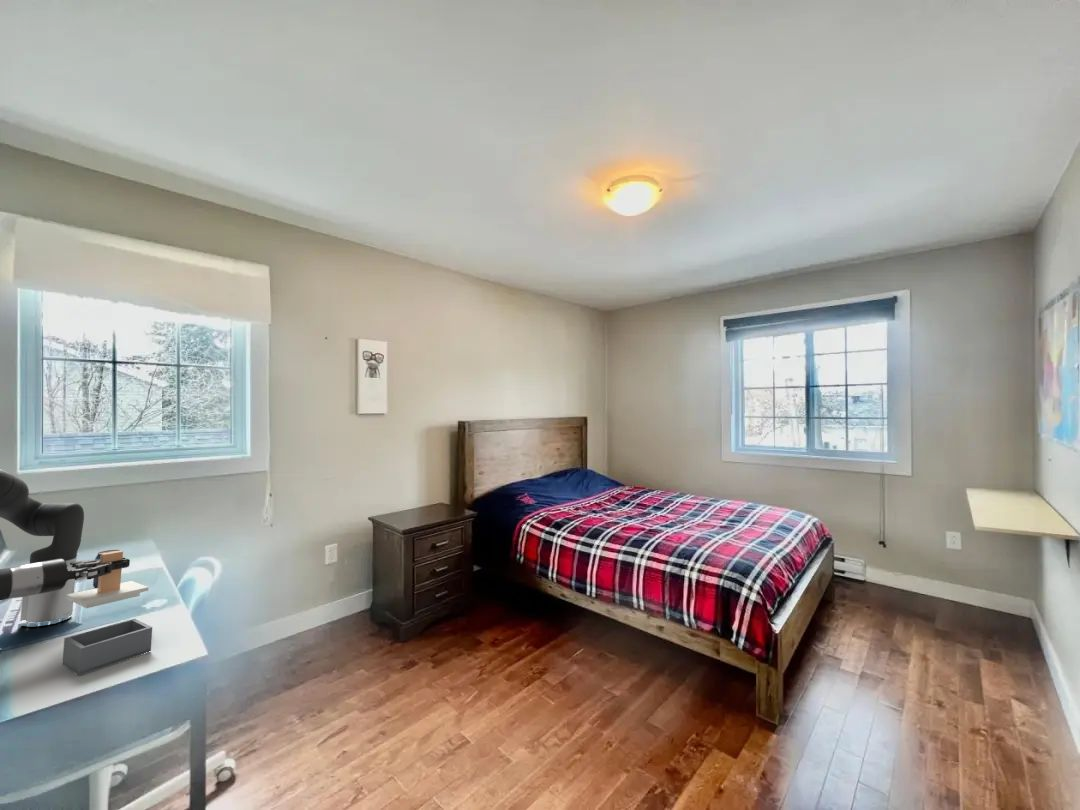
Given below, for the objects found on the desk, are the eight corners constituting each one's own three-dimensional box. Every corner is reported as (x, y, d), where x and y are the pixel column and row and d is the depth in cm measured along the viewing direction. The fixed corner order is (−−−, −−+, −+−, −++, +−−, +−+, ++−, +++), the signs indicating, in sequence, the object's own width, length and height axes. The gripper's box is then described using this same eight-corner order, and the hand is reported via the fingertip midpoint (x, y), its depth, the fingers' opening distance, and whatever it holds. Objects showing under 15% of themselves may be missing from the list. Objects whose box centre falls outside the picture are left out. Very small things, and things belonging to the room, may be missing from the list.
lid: (81, 611, 113) (85, 561, 114) (65, 603, 118) (70, 555, 119) (147, 595, 125) (151, 550, 126) (131, 588, 130) (134, 545, 131)
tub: (78, 676, 101) (81, 648, 101) (62, 664, 106) (64, 638, 106) (150, 651, 112) (152, 627, 113) (132, 642, 117) (134, 618, 117)
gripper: (47, 566, 107) (139, 551, 122) (27, 558, 113) (117, 544, 129) (44, 599, 106) (137, 579, 121) (24, 589, 113) (115, 571, 128)
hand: (126, 562), depth 125 cm, fingers closed on lid
